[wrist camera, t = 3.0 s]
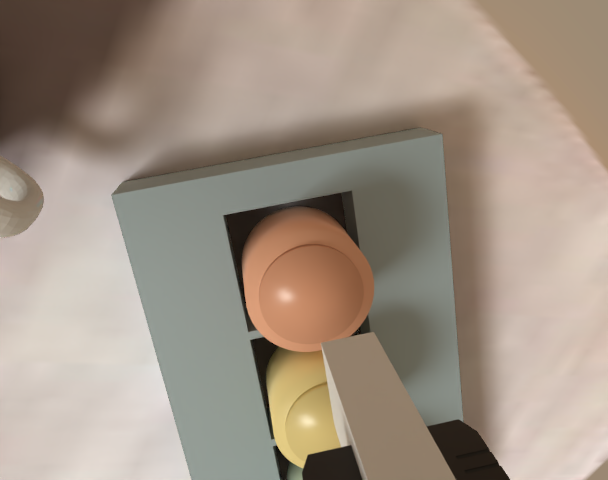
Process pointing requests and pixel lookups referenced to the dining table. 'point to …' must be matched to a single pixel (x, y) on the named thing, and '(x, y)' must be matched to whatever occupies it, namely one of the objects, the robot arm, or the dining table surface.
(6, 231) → the cup
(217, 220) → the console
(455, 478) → the robot arm
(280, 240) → the button terracotta
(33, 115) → the dining table surface
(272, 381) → the button ochre
